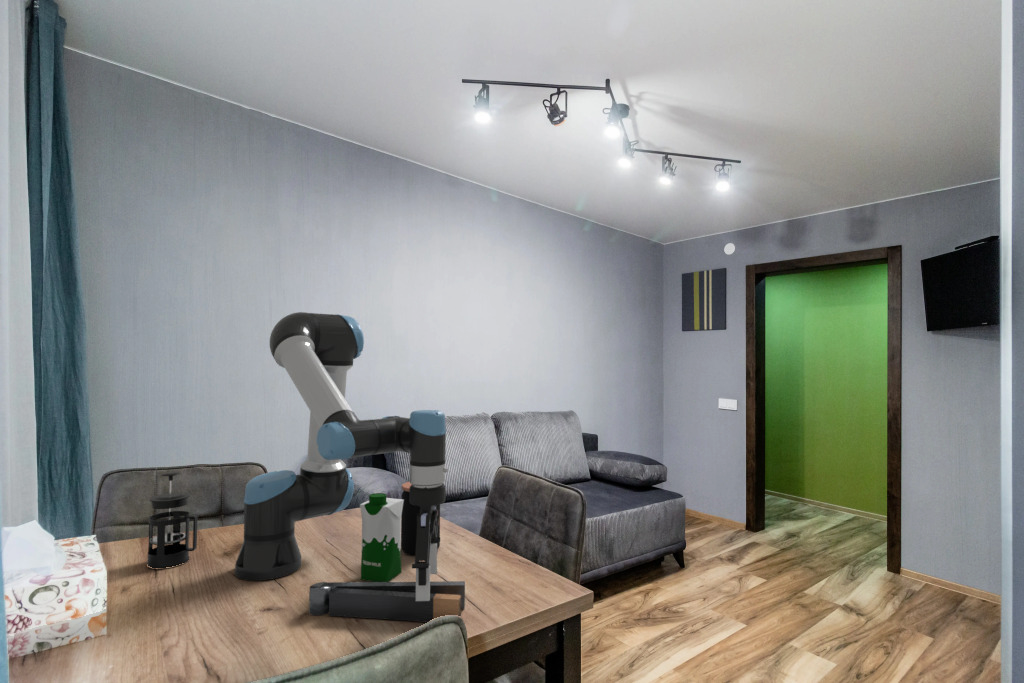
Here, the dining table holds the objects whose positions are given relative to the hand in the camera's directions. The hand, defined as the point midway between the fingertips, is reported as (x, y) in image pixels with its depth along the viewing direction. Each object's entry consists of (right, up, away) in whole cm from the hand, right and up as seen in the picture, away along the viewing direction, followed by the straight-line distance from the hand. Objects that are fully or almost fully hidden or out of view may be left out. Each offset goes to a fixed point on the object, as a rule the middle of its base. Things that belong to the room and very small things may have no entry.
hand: (427, 586), depth 113 cm
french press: (-70, -6, +26) cm, 75 cm away
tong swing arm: (-6, -5, -4) cm, 8 cm away
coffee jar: (-8, -7, +36) cm, 37 cm away
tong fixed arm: (-8, -5, 0) cm, 10 cm away
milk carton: (-14, -6, +18) cm, 23 cm away
